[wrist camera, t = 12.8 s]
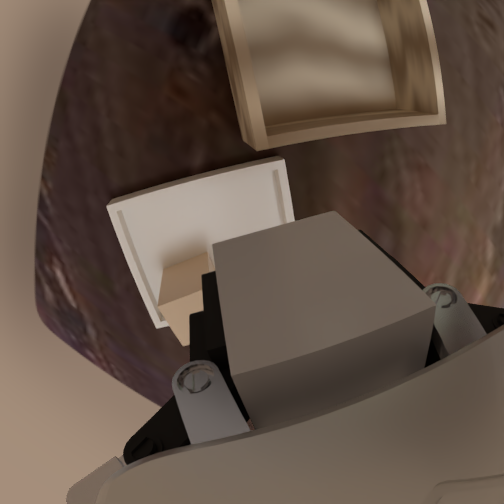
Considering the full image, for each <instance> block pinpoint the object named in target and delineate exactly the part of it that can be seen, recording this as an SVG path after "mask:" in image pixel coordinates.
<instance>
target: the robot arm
mask: <svg viewBox="0 0 504 504" xmlns="http://www.w3.org/2000/svg"><path fill="white" fill-rule="evenodd" d="M358 231H359V232H360V233H361V234H362V235H363V236H364V237H366V238H367V239H368V240H369V241H370V242H371V243H372V244H373V245H375V246H376V247H377V248H378V249H379V250H380V251H381V252H382V253H383V254H384V255H386V256H387V257H388V258H389V259H390V260H391V261H392V262H393V263H394V264H395V265H396V266H397V267H398V268H399V269H401V270H402V271H403V272H404V273H405V274H406V275H407V276H408V277H409V278H410V279H411V280H412V281H413V282H414V283H415V284H416V285H417V286H418V287H419V288H420V289H421V290H422V291H423V292H424V293H425V294H426V295H427V296H428V297H429V298H430V299H431V300H432V301H433V302H434V303H435V304H436V311H435V317H434V323H433V329H432V334H431V339H430V344H429V349H428V354H427V358H426V363H425V367H424V368H423V369H421V370H419V371H417V372H415V373H413V374H411V375H409V376H407V377H404V378H402V379H400V380H398V381H395V382H393V383H391V384H389V385H386V386H384V387H381V388H379V389H377V390H374V391H372V392H369V393H367V394H364V395H362V396H359V397H357V398H354V399H351V400H349V401H346V402H343V403H341V404H338V405H335V406H332V407H329V408H326V409H324V410H321V411H318V412H315V413H312V414H309V415H305V416H302V417H299V418H296V419H293V420H289V421H286V422H282V423H279V424H275V425H272V426H268V427H264V428H260V429H256V430H252V431H250V429H249V427H248V425H247V423H246V422H247V421H248V420H249V418H250V417H249V415H248V413H247V410H246V408H245V406H244V404H243V402H242V399H241V397H240V395H239V393H238V390H237V388H236V386H235V384H234V381H233V379H232V377H231V372H230V366H229V360H228V353H227V347H226V341H225V334H224V327H223V321H222V314H221V307H220V300H219V293H218V285H217V278H216V271H212V272H209V273H205V274H202V275H201V279H202V295H203V311H199V312H196V313H192V314H190V315H189V336H190V362H189V363H187V364H185V365H184V366H182V367H181V368H180V369H179V370H177V372H176V373H175V375H174V376H173V380H172V388H173V391H174V396H173V397H172V398H171V399H170V400H169V401H168V402H167V403H166V404H165V405H164V406H163V407H162V408H161V409H160V410H159V411H158V412H157V413H156V414H155V415H154V416H153V417H152V418H151V419H150V420H149V421H148V422H147V423H146V424H145V425H144V426H143V427H141V428H140V429H139V430H138V431H137V432H136V434H135V435H133V436H132V437H131V438H130V439H129V441H128V442H127V443H126V445H125V448H124V452H123V455H122V456H121V457H120V458H117V457H113V458H112V459H110V460H109V461H108V462H106V463H105V464H103V465H102V466H101V467H99V468H98V469H96V470H95V471H93V472H92V473H90V474H89V475H88V476H86V477H85V478H83V479H81V480H80V481H79V482H77V483H76V484H74V485H73V486H72V487H71V488H70V489H69V491H68V494H67V499H66V502H67V504H504V309H503V308H496V307H490V306H483V305H477V304H470V303H467V302H466V301H465V299H464V298H463V296H462V295H461V293H460V292H459V291H458V290H457V289H456V288H454V287H453V286H450V285H447V284H441V283H438V284H432V285H429V286H427V287H426V288H425V287H424V286H423V285H422V284H421V283H420V282H419V281H418V280H417V279H416V278H415V277H414V276H413V275H412V274H411V273H410V272H408V271H407V270H406V269H405V268H404V267H403V266H402V265H401V264H400V263H399V262H398V261H396V260H395V259H394V258H393V257H392V256H390V255H389V254H388V253H387V252H386V251H384V250H383V249H382V248H381V247H380V246H379V245H378V244H377V243H375V242H374V241H373V240H372V239H371V238H370V237H369V236H367V235H366V234H365V233H364V232H363V231H362V230H358Z"/></svg>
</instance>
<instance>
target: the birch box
mask: <svg viewBox="0 0 504 504" xmlns="http://www.w3.org/2000/svg"><path fill="white" fill-rule="evenodd" d="M211 1H212V5H213V9H214V14H215V18H216V23H217V27H218V31H219V36H220V40H221V45H222V49H223V54H224V58H225V63H226V67H227V72H228V76H229V81H230V85H231V90H232V95H233V99H234V104H235V108H236V113H237V118H238V122H239V127H240V132H241V136H242V140H243V141H244V142H246V143H247V144H248V145H250V146H251V147H252V148H254V149H255V150H256V151H260V150H265V149H270V148H275V147H280V146H285V145H290V144H295V143H300V142H306V141H312V140H317V139H323V138H329V137H336V136H342V135H349V134H356V133H363V132H370V131H378V130H386V129H395V128H404V127H414V126H426V125H438V124H446V114H445V103H444V93H443V85H442V77H441V70H440V63H439V57H438V51H437V46H436V40H435V35H434V31H433V26H432V21H431V17H430V13H429V9H428V5H427V1H426V0H211Z"/></svg>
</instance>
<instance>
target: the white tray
mask: <svg viewBox="0 0 504 504" xmlns="http://www.w3.org/2000/svg"><path fill="white" fill-rule="evenodd" d="M106 207H107V210H108V212H109V215H110V218H111V221H112V224H113V226H114V229H115V232H116V234H117V237H118V240H119V242H120V245H121V247H122V250H123V253H124V255H125V258H126V260H127V263H128V265H129V268H130V270H131V272H132V275H133V277H134V280H135V282H136V284H137V287H138V289H139V291H140V294H141V296H142V298H143V300H144V303H145V305H146V307H147V309H148V311H149V314H150V316H151V318H152V320H153V322H154V324H155V326H156V329H157V328H162V327H166V326H169V324H168V323H167V321H166V320H165V318H164V316H163V315H162V313H161V312H160V310H159V309H158V307H157V306H158V299H159V293H160V286H161V280H162V273H163V269H166V268H168V267H171V266H173V265H175V264H178V263H180V262H183V261H185V260H188V259H190V258H193V257H195V256H198V255H200V254H203V253H206V252H208V254H209V256H210V258H211V261H212V263H213V265H214V267H215V263H214V255H213V248H212V244H214V243H217V242H221V241H225V240H228V239H232V238H235V237H239V236H242V235H246V234H250V233H253V232H257V231H260V230H264V229H268V228H271V227H275V226H279V225H282V224H286V223H290V222H293V221H295V220H294V214H293V207H292V201H291V195H290V189H289V183H288V177H287V171H286V165H285V159H283V158H282V157H280V156H274V157H269V158H264V159H260V160H255V161H251V162H246V163H242V164H237V165H233V166H229V167H225V168H221V169H217V170H213V171H209V172H205V173H201V174H197V175H193V176H189V177H186V178H182V179H178V180H175V181H171V182H167V183H164V184H160V185H157V186H153V187H150V188H147V189H143V190H140V191H137V192H133V193H130V194H127V195H124V196H120V197H117V198H114V199H112V200H111V201H110V202H109V203H108V205H107V206H106Z"/></svg>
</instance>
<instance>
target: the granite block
mask: <svg viewBox="0 0 504 504" xmlns="http://www.w3.org/2000/svg"><path fill="white" fill-rule="evenodd" d="M212 248H213V255H214V263H215V271H216V278H217V285H218V293H219V300H220V307H221V314H222V321H223V327H224V334H225V341H226V347H227V353H228V360H229V366H230V372H231V377H232V379H233V381H234V384H235V386H236V388H237V390H238V393H239V395H240V397H241V399H242V402H243V404H244V406H245V408H246V410H247V413H248V415H249V417H250V419H251V421H252V423H253V426H254V428H255V430H256V429H260V428H264V427H268V426H272V425H275V424H279V423H282V422H286V421H289V420H293V419H296V418H299V417H302V416H305V415H309V414H312V413H315V412H318V411H321V410H324V409H326V408H329V407H332V406H335V405H338V404H341V403H343V402H346V401H349V400H351V399H354V398H357V397H359V396H362V395H364V394H367V393H369V392H372V391H374V390H377V389H379V388H381V387H384V386H386V385H389V384H391V383H393V382H395V381H398V380H400V379H402V378H404V377H407V376H409V375H411V374H413V373H415V372H417V371H419V370H421V369H423V368H424V367H425V363H426V358H427V354H428V349H429V344H430V339H431V334H432V329H433V323H434V317H435V311H436V304H435V303H434V302H433V301H432V300H431V299H430V298H429V297H428V296H427V295H426V294H425V293H424V292H423V291H422V290H421V289H420V288H419V287H418V286H417V285H416V284H415V283H414V282H413V281H412V280H411V279H410V278H409V277H408V276H407V275H406V274H405V273H404V272H403V271H402V270H401V269H399V268H398V267H397V266H396V265H395V264H394V263H393V262H392V261H391V260H390V259H389V258H388V257H387V256H386V255H384V254H383V253H382V252H381V251H380V250H379V249H378V248H377V247H376V246H375V245H373V244H372V243H371V242H370V241H369V240H368V239H367V238H366V237H364V236H363V235H362V234H361V233H360V232H359V231H358V230H357V229H355V228H354V227H353V226H352V225H351V224H350V223H348V222H347V221H346V220H345V219H344V218H343V217H341V216H340V215H339V214H338V213H337V212H336V211H331V212H327V213H323V214H319V215H316V216H312V217H308V218H305V219H301V220H297V221H293V222H290V223H286V224H282V225H279V226H275V227H271V228H268V229H264V230H260V231H257V232H253V233H250V234H246V235H242V236H239V237H235V238H232V239H228V240H225V241H221V242H217V243H214V244H212Z"/></svg>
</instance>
